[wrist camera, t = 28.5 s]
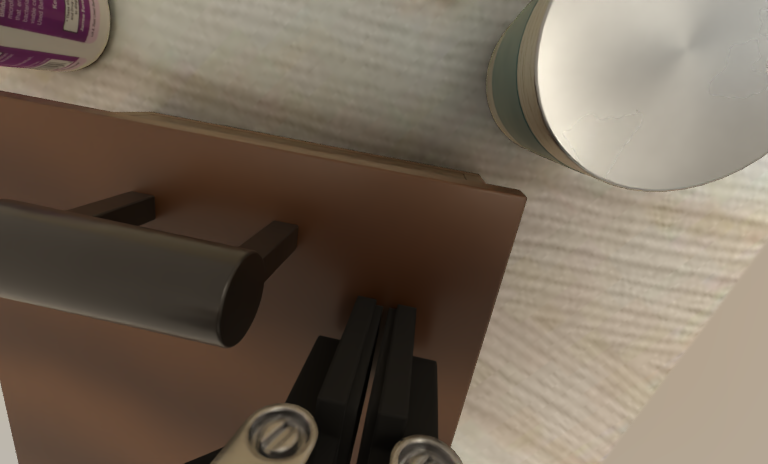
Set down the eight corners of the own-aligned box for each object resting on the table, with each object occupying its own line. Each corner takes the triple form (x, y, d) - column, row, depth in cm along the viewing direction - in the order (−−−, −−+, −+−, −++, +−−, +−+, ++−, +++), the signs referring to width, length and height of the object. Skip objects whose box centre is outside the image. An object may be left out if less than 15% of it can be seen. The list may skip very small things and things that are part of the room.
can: (507, -18, 15) (588, -155, 7) (668, 7, 14) (934, -107, 7) (469, 140, 17) (500, 166, 9) (610, 166, 16) (765, 216, 9)
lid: (-34, 83, 11) (-400, 69, 6) (521, 189, 10) (602, 271, 5) (49, 504, 17) (-103, 663, 12) (399, 596, 16) (384, 808, 11)
